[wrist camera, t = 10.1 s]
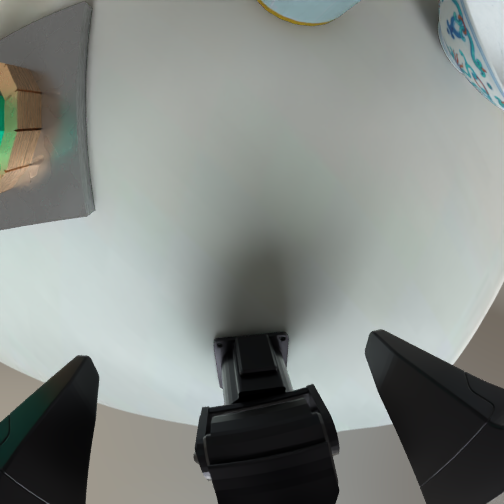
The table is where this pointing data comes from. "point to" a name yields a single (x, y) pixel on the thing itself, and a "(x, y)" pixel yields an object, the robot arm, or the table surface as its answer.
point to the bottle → (308, 10)
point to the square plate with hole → (45, 121)
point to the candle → (1, 117)
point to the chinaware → (475, 43)
